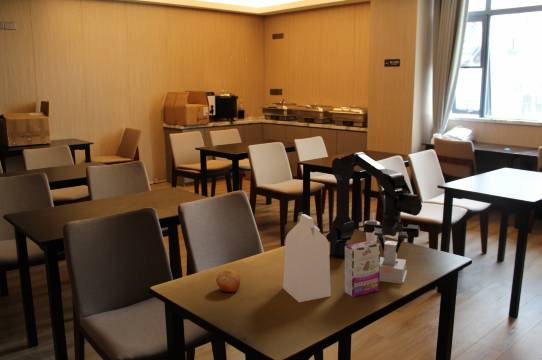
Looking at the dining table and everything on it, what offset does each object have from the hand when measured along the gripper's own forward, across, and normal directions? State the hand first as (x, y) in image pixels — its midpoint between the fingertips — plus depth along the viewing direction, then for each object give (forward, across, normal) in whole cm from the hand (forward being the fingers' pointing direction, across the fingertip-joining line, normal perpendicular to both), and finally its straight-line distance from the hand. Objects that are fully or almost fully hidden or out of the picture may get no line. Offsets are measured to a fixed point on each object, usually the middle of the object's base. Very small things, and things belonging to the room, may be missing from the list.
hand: (390, 252), depth 183 cm
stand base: (+9, 0, 0) cm, 9 cm away
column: (+6, 0, 0) cm, 6 cm away
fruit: (+9, -49, -30) cm, 58 cm away
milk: (+9, -24, -23) cm, 34 cm away
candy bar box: (+9, -7, -17) cm, 20 cm away
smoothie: (+9, -12, +33) cm, 36 cm away
